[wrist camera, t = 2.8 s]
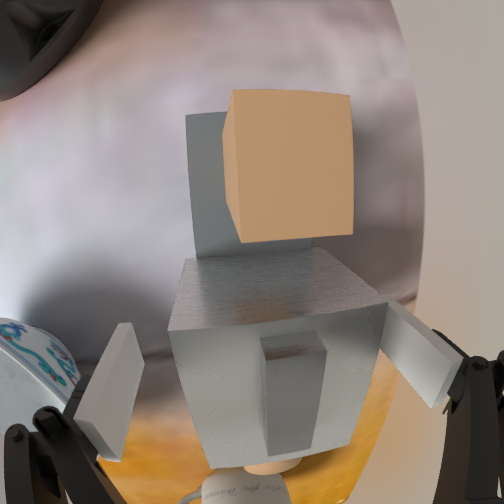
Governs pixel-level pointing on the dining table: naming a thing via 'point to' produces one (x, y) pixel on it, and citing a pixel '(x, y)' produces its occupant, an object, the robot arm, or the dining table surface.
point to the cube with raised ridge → (274, 352)
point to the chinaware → (32, 373)
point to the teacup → (240, 488)
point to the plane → (271, 178)
